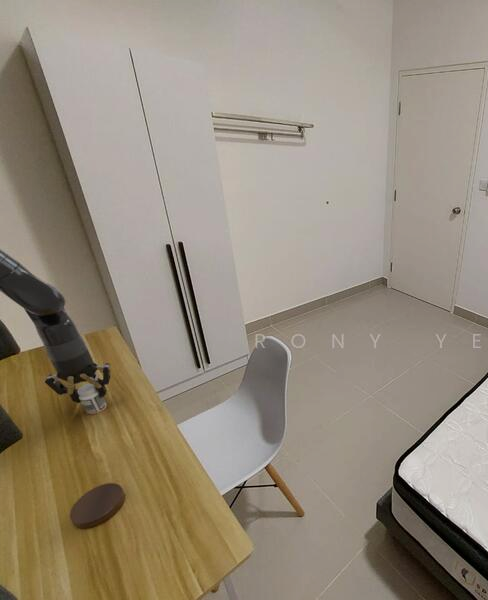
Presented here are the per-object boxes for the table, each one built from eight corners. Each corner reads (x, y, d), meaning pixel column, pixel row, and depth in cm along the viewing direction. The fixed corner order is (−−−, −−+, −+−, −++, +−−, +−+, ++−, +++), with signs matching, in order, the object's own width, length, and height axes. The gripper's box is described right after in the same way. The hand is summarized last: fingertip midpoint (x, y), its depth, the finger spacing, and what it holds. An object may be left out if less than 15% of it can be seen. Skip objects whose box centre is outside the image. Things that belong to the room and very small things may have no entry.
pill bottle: (103, 400, 101) (93, 380, 98) (109, 407, 99) (99, 387, 95) (84, 409, 98) (73, 388, 94) (89, 417, 96) (78, 396, 92)
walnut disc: (67, 536, 69) (64, 531, 68) (79, 498, 76) (76, 493, 75) (121, 516, 73) (118, 511, 72) (127, 482, 80) (125, 476, 79)
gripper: (105, 338, 95) (123, 383, 103) (37, 350, 88) (62, 397, 96) (99, 353, 89) (119, 399, 97) (26, 366, 83) (54, 415, 90)
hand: (91, 398), depth 96 cm, fingers closed on pill bottle, 4 cm apart
